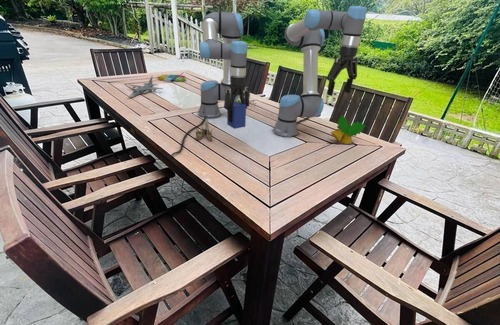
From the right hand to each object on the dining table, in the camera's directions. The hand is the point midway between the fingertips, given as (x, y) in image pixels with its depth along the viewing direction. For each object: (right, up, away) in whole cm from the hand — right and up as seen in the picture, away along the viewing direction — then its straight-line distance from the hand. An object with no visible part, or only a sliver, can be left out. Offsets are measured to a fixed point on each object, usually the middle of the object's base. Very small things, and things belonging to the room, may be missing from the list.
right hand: (338, 93), depth 127 cm
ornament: (+16, -20, +34) cm, 42 cm away
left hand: (-50, -11, +12) cm, 53 cm away
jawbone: (-70, -19, +26) cm, 77 cm away
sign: (-127, +56, +151) cm, 205 cm away
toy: (-50, +18, +94) cm, 108 cm away
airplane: (-135, +27, +99) cm, 170 cm away
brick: (-51, -14, +13) cm, 54 cm away
